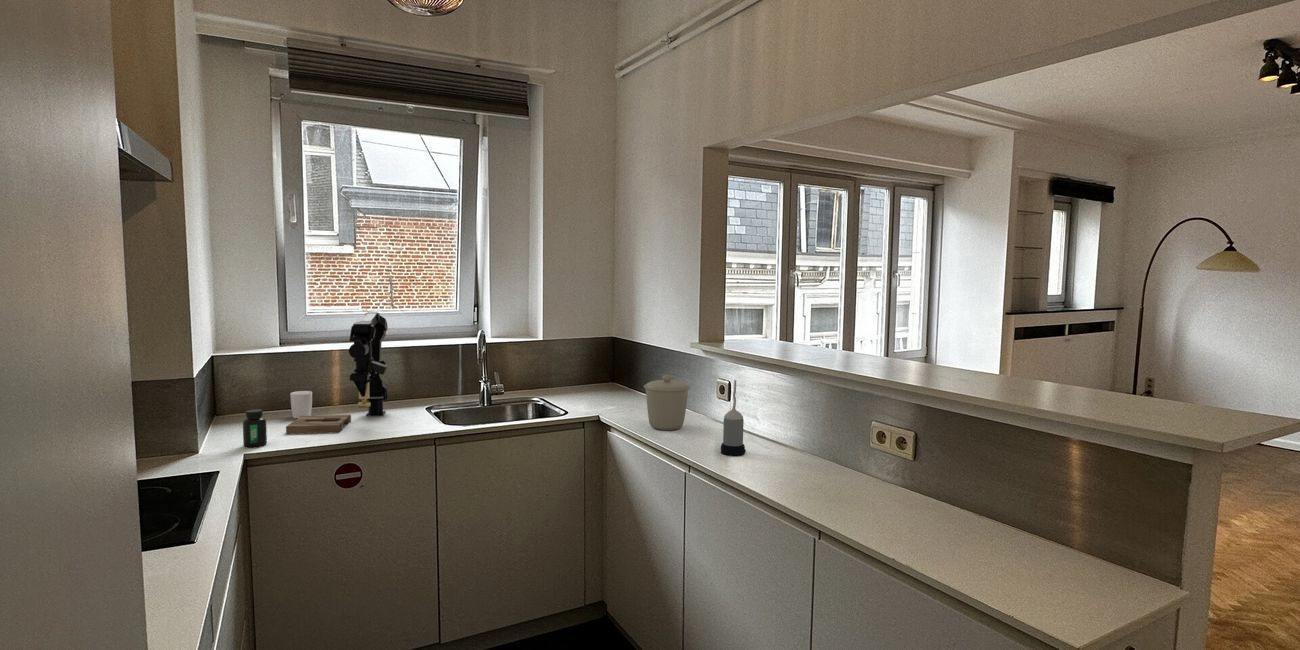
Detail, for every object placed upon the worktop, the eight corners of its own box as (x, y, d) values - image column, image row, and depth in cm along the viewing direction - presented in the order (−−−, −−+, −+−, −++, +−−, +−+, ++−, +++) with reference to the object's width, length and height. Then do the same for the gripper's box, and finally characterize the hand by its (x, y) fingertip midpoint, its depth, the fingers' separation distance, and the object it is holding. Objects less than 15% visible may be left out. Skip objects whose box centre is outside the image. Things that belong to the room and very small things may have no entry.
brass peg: (359, 405, 253) (359, 382, 252) (371, 405, 254) (371, 381, 253) (356, 407, 249) (356, 383, 248) (369, 407, 250) (368, 383, 249)
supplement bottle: (257, 448, 219) (256, 413, 218) (238, 447, 219) (237, 412, 218) (271, 443, 226) (270, 409, 225) (253, 442, 226) (251, 408, 225)
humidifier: (750, 454, 221) (752, 381, 219) (731, 457, 217) (733, 383, 215) (734, 448, 228) (735, 377, 226) (715, 451, 224) (717, 379, 221)
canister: (638, 423, 264) (639, 371, 262) (681, 421, 269) (682, 370, 267) (650, 434, 246) (651, 378, 245) (695, 431, 251) (696, 377, 250)
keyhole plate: (301, 422, 256) (301, 415, 255) (350, 421, 259) (350, 414, 259) (286, 434, 238) (285, 426, 238) (339, 432, 242) (339, 424, 242)
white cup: (291, 415, 267) (290, 391, 267) (312, 414, 271) (312, 390, 270) (290, 419, 260) (290, 395, 260) (313, 418, 264) (312, 393, 263)
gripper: (381, 358, 242) (381, 399, 244) (390, 352, 261) (390, 390, 262) (348, 358, 240) (349, 400, 241) (360, 352, 258) (361, 391, 260)
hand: (364, 395), depth 251 cm, fingers closed on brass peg, 3 cm apart
